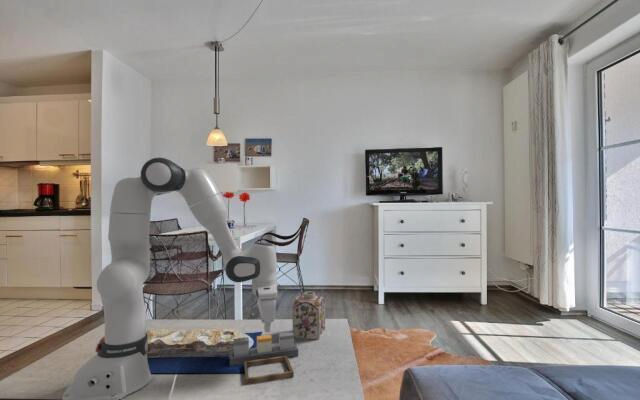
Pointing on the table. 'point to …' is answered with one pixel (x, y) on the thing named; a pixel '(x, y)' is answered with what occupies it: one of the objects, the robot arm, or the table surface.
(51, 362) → the table surface
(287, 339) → the right fuse
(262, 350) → the block
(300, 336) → the decorative jar
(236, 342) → the block
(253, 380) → the brown wooden frame
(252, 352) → the fuse holder
